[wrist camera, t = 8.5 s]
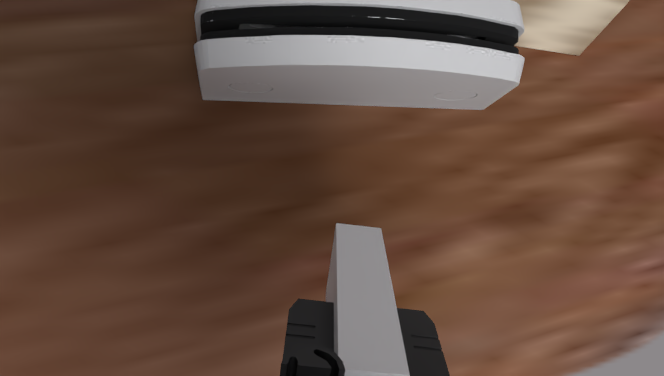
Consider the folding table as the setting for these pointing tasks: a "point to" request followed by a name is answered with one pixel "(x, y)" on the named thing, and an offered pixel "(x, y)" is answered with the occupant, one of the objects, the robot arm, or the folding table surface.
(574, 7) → the bench stop
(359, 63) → the white black rounded case
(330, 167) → the folding table surface
